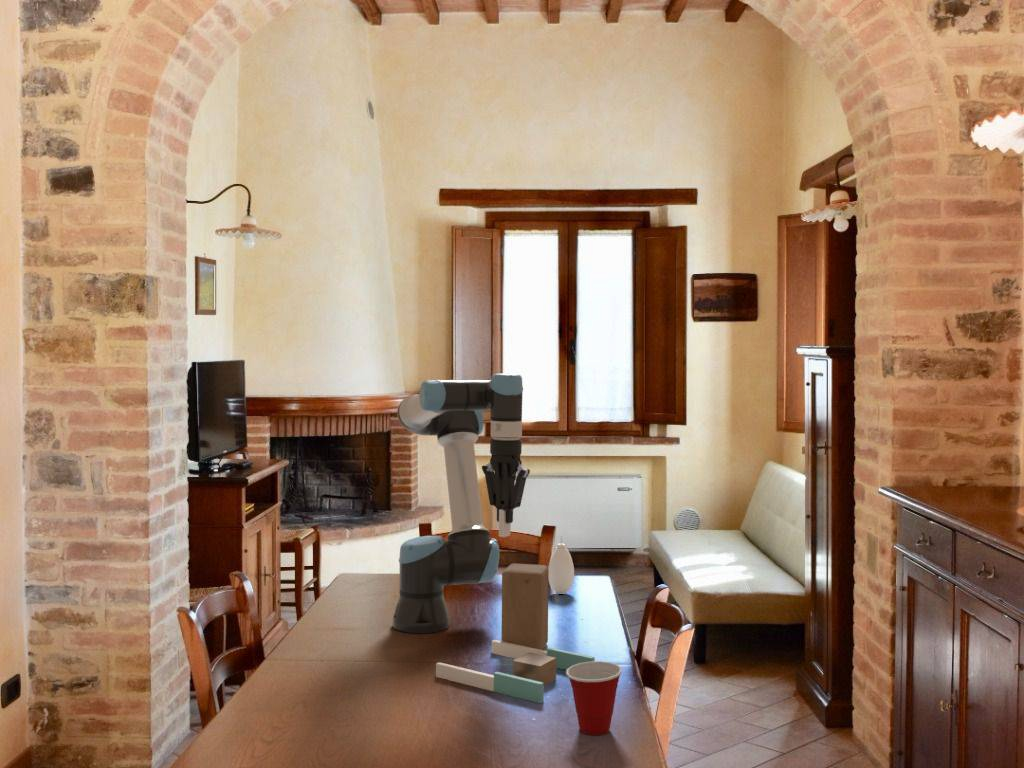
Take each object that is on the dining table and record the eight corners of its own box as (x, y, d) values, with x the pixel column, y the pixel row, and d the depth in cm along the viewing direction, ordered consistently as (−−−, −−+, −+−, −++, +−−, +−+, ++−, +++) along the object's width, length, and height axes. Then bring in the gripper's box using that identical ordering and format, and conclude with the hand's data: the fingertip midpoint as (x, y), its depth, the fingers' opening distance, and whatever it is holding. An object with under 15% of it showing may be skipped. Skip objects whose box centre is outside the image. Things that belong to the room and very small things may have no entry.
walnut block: (512, 683, 213) (512, 660, 213) (529, 674, 219) (529, 652, 218) (540, 688, 209) (540, 666, 209) (556, 679, 215) (556, 657, 215)
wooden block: (540, 655, 231) (541, 573, 231) (500, 652, 234) (501, 570, 233) (548, 643, 241) (549, 564, 241) (509, 640, 244) (510, 562, 243)
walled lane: (435, 676, 216) (435, 659, 216) (494, 651, 234) (494, 635, 234) (540, 703, 200) (540, 684, 200) (594, 674, 218) (594, 657, 218)
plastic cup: (561, 719, 191) (562, 660, 190) (615, 718, 192) (616, 658, 191) (569, 741, 180) (570, 678, 180) (626, 740, 181) (627, 677, 181)
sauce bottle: (544, 592, 294) (545, 533, 294) (569, 590, 296) (569, 532, 295) (552, 598, 286) (552, 538, 286) (577, 596, 288) (577, 537, 288)
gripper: (474, 437, 231) (473, 534, 232) (518, 441, 223) (517, 542, 224) (494, 435, 237) (492, 530, 238) (537, 439, 229) (535, 537, 230)
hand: (504, 535), depth 231 cm, fingers closed
